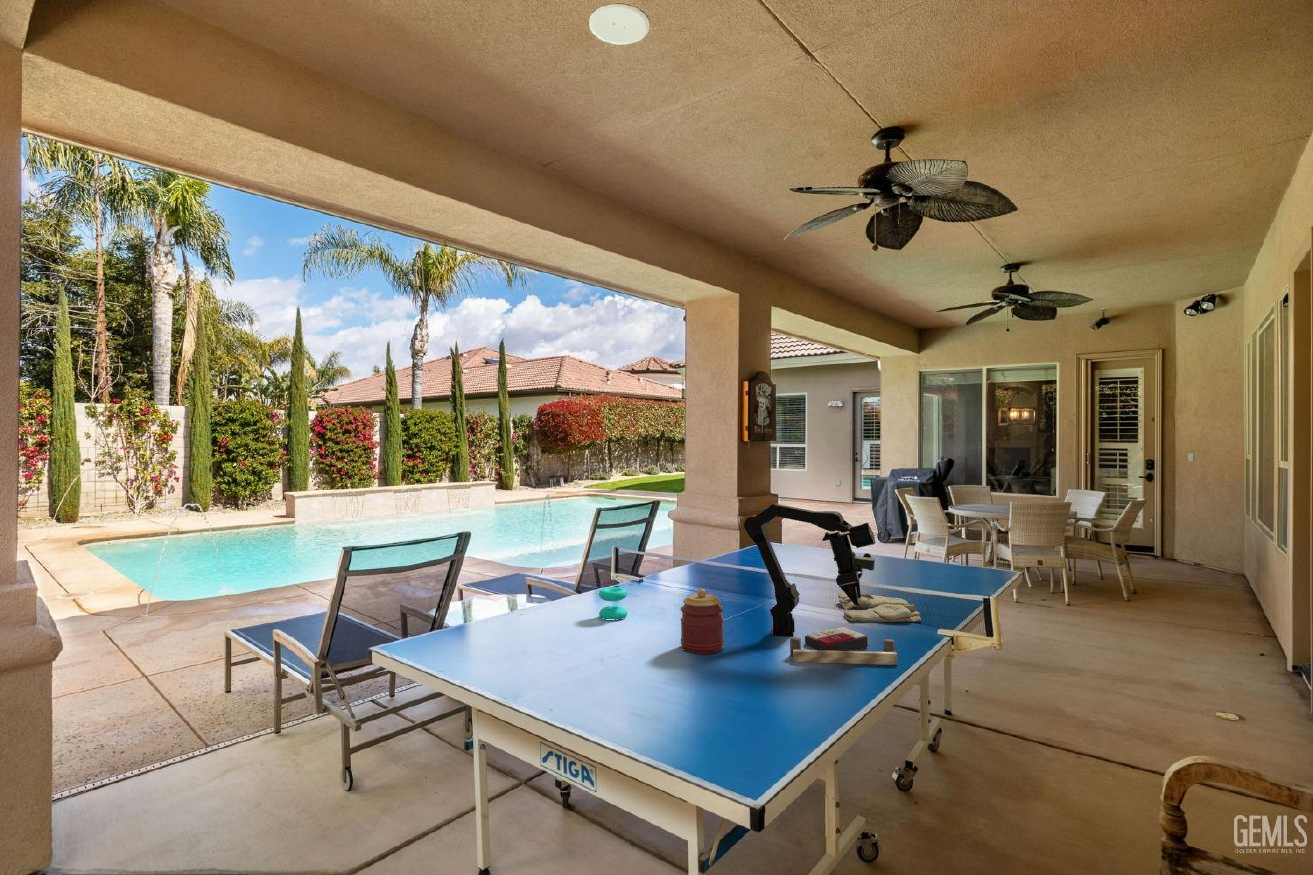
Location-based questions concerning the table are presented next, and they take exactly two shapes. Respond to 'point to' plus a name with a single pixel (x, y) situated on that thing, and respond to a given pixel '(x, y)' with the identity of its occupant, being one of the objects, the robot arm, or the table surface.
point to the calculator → (836, 640)
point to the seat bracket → (844, 654)
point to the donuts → (613, 595)
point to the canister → (702, 624)
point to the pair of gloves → (879, 609)
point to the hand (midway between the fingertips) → (857, 601)
